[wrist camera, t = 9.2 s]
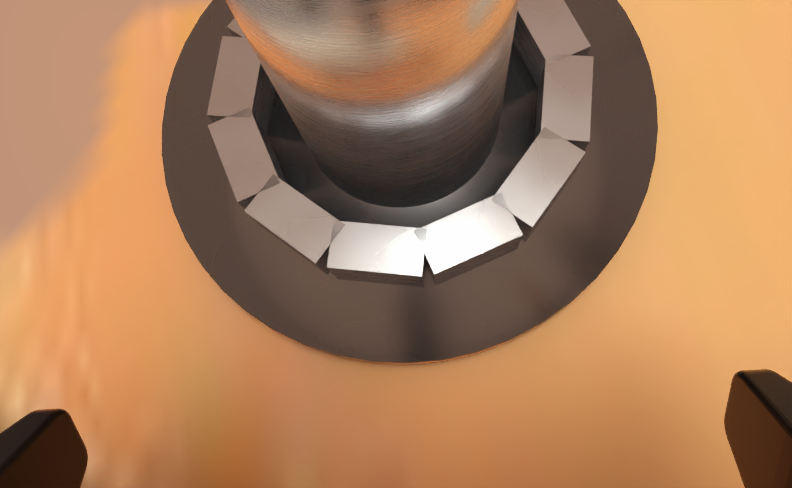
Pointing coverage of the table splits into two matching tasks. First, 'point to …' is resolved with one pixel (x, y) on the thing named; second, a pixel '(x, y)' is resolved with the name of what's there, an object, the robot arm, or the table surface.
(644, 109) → the hub flange
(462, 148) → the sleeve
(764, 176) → the table surface
